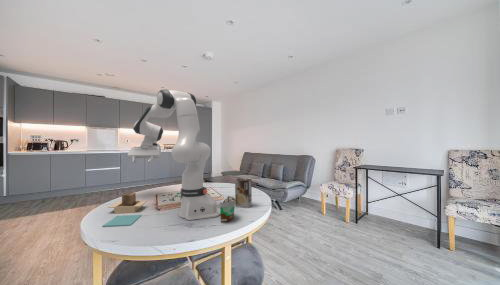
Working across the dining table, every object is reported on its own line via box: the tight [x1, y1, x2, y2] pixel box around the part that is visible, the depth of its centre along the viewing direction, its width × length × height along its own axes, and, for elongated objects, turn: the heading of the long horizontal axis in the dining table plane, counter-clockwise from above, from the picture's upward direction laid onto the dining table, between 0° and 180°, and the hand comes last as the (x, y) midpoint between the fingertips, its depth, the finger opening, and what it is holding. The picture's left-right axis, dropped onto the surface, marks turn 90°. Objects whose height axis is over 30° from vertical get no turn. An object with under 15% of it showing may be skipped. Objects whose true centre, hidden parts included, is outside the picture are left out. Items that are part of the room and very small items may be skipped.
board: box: [102, 214, 142, 228], centre depth 93 cm, size 12×12×1 cm
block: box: [121, 192, 137, 206], centre depth 109 cm, size 5×5×9 cm
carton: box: [108, 200, 148, 214], centre depth 109 cm, size 16×10×4 cm, turn 97°
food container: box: [219, 195, 236, 224], centre depth 96 cm, size 12×6×10 cm, turn 168°
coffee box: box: [234, 177, 253, 208], centre depth 117 cm, size 9×6×16 cm
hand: (141, 162), depth 125 cm, fingers open, 8 cm apart
